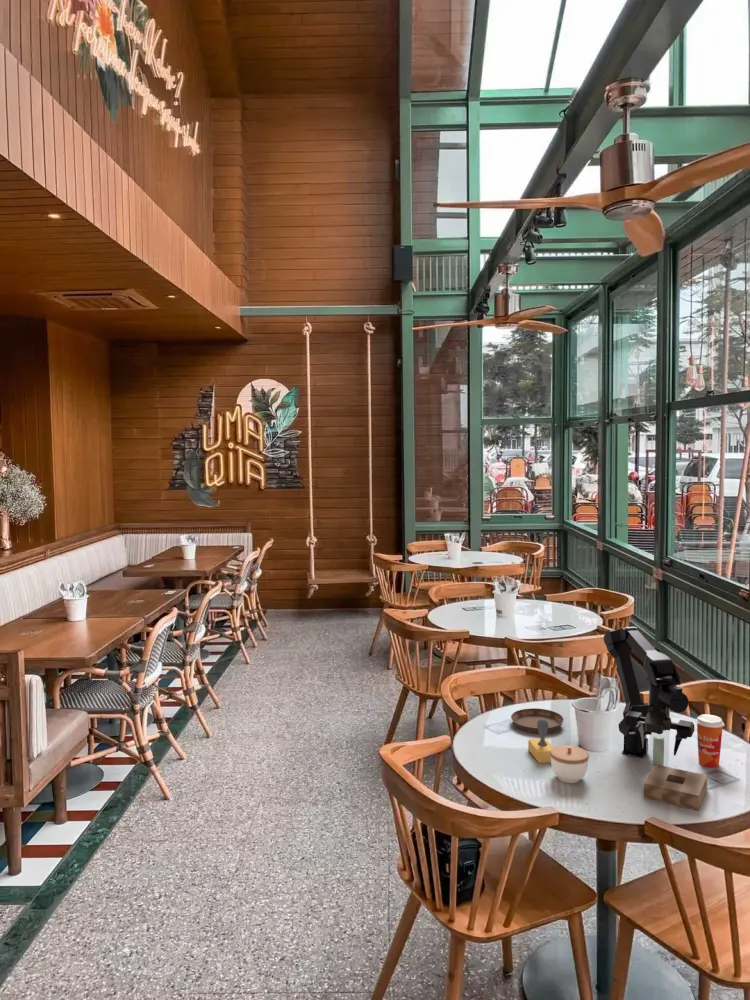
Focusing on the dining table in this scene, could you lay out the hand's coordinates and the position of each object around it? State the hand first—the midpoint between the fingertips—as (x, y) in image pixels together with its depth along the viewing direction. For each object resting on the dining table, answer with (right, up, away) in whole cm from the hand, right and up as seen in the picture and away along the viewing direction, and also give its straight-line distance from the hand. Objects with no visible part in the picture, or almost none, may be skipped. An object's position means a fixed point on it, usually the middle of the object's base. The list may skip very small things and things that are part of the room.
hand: (658, 751), depth 220 cm
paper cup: (+17, -5, +5) cm, 19 cm away
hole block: (0, -7, -13) cm, 15 cm away
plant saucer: (-28, -4, +37) cm, 46 cm away
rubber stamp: (-32, -6, +12) cm, 34 cm away
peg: (0, -6, 0) cm, 6 cm away
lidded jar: (-27, -7, -4) cm, 28 cm away
